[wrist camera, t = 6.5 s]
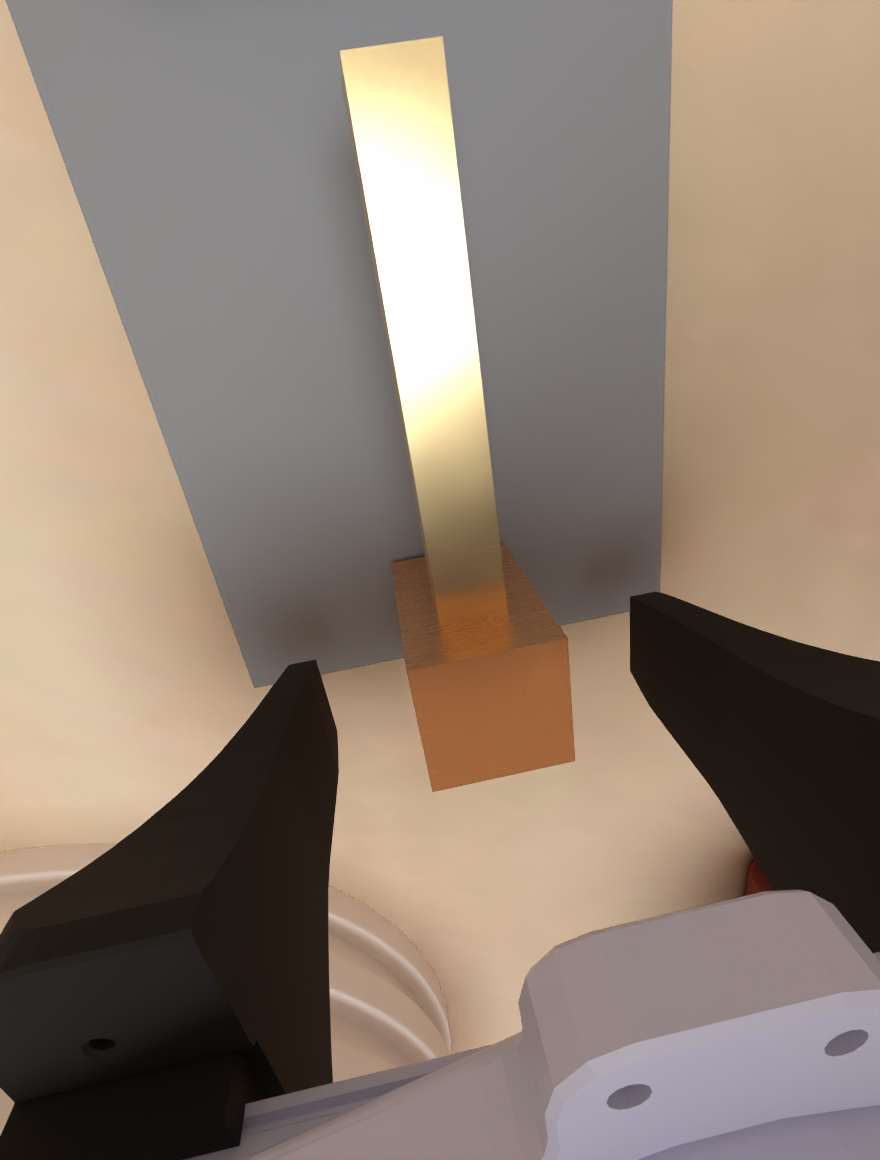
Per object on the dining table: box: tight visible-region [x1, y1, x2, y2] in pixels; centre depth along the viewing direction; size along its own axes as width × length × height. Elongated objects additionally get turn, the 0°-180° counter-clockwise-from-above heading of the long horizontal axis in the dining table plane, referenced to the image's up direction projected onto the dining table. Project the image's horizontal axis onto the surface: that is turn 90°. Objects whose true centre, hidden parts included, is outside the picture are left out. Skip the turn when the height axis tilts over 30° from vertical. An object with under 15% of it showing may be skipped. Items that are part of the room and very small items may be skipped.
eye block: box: [6, 0, 673, 688], centre depth 10 cm, size 12×20×7 cm, turn 9°
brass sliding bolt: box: [340, 36, 575, 792], centre depth 11 cm, size 3×12×5 cm, turn 9°
